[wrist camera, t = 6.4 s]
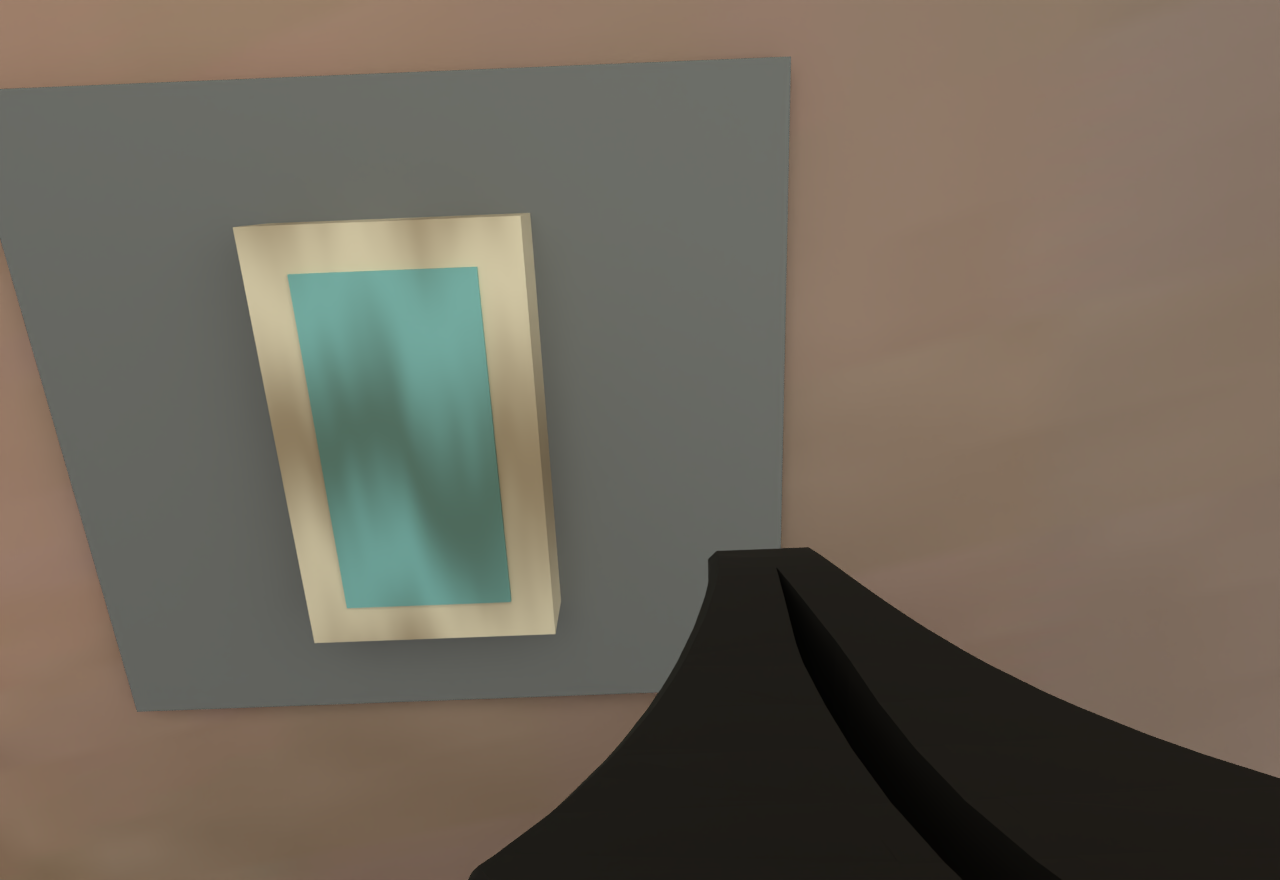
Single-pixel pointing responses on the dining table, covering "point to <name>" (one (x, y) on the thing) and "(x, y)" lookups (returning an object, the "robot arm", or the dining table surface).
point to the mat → (407, 188)
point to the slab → (409, 422)
